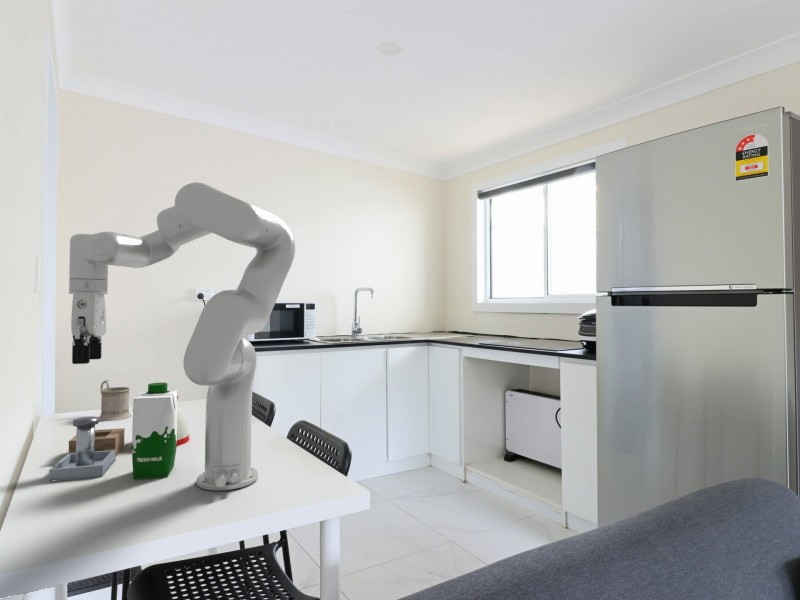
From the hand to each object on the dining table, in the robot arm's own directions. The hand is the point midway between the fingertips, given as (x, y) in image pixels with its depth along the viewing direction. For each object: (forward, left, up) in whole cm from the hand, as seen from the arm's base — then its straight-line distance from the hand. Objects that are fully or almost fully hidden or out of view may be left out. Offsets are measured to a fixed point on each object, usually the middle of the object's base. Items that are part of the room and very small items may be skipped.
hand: (87, 361), depth 110 cm
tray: (0, 0, -25) cm, 25 cm away
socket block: (+13, +1, -25) cm, 28 cm away
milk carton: (-7, -15, -25) cm, 30 cm away
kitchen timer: (+20, -13, -26) cm, 35 cm away
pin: (0, 0, -25) cm, 25 cm away
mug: (+59, +8, -25) cm, 65 cm away
